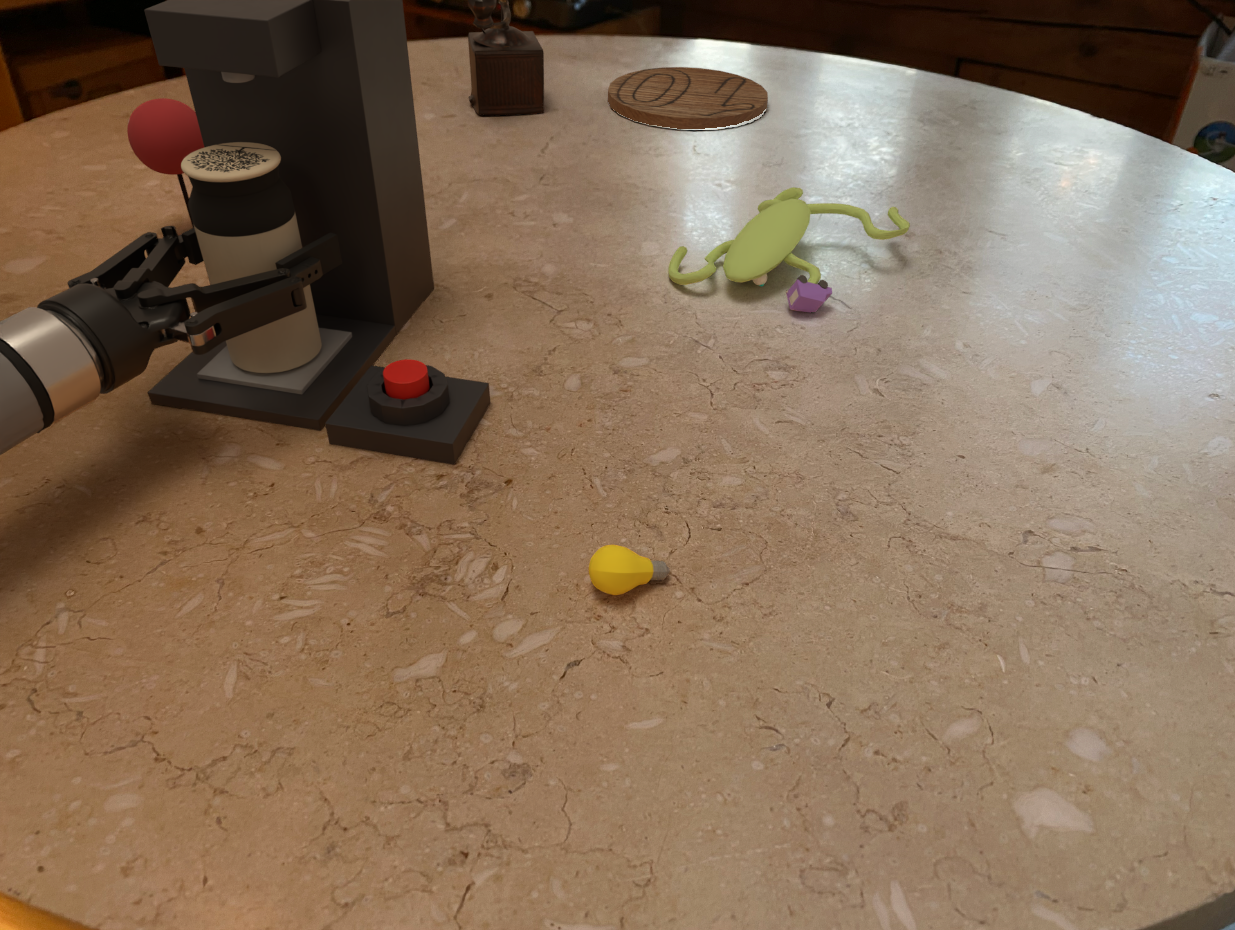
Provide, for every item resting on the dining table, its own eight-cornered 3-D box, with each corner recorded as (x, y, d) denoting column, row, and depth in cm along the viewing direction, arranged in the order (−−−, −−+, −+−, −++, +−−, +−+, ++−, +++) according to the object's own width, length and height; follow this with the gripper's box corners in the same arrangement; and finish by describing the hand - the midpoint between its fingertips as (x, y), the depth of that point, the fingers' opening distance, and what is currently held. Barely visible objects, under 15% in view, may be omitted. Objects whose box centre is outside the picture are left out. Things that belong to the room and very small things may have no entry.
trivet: (774, 87, 155) (775, 75, 154) (757, 139, 136) (758, 125, 135) (627, 73, 159) (627, 61, 158) (590, 121, 140) (590, 108, 139)
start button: (378, 397, 77) (375, 379, 76) (396, 374, 80) (393, 356, 79) (419, 403, 77) (417, 385, 75) (435, 379, 79) (434, 362, 78)
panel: (329, 444, 78) (320, 405, 75) (374, 385, 85) (368, 347, 82) (454, 465, 76) (450, 425, 74) (490, 403, 83) (487, 365, 80)
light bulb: (577, 581, 66) (586, 535, 65) (653, 582, 69) (663, 538, 68) (593, 603, 63) (603, 555, 62) (672, 604, 66) (683, 557, 65)
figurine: (919, 253, 108) (931, 206, 105) (793, 340, 92) (802, 289, 89) (785, 206, 118) (791, 162, 114) (649, 278, 102) (652, 230, 98)
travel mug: (289, 384, 82) (242, 184, 70) (212, 366, 83) (154, 168, 72) (339, 339, 87) (303, 148, 76) (265, 323, 89) (220, 135, 78)
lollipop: (203, 214, 112) (168, 84, 102) (244, 231, 108) (212, 98, 99) (145, 236, 107) (103, 102, 98) (186, 255, 104) (147, 118, 94)
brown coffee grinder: (466, 95, 148) (456, -32, 137) (535, 92, 150) (532, -33, 139) (476, 129, 136) (467, -6, 125) (551, 125, 138) (549, -8, 127)
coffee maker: (151, 403, 82) (22, 37, 63) (294, 269, 102) (229, -40, 83) (320, 431, 79) (239, 58, 60) (434, 288, 99) (399, -26, 80)
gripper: (-14, 355, 73) (207, 245, 89) (196, 440, 65) (397, 304, 81) (-55, 267, 68) (186, 167, 84) (166, 348, 61) (385, 222, 76)
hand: (289, 234), depth 82 cm, fingers open, 10 cm apart
